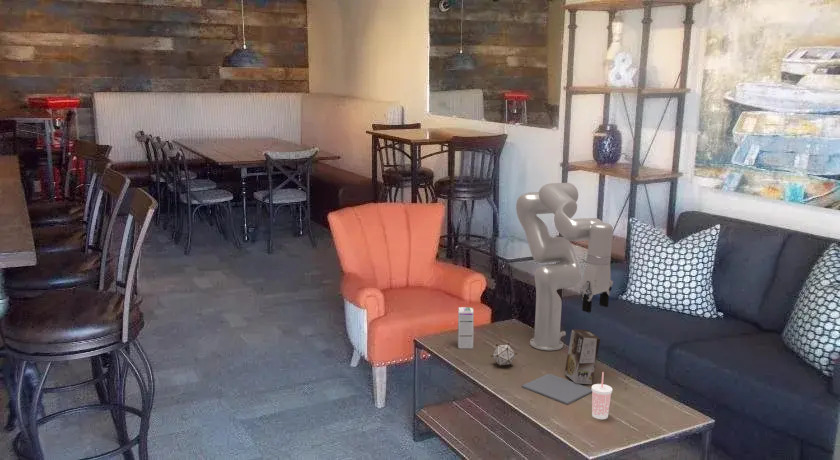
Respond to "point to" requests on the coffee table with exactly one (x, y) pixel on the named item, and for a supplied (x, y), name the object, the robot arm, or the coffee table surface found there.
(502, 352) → the game die
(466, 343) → the syrup box
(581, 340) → the coffee box
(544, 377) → the mat
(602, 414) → the beverage cup
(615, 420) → the coffee table surface
